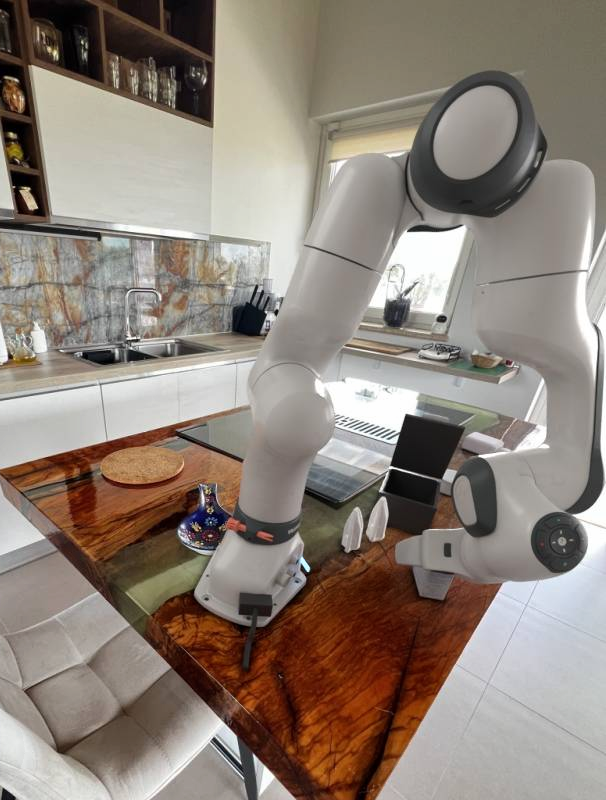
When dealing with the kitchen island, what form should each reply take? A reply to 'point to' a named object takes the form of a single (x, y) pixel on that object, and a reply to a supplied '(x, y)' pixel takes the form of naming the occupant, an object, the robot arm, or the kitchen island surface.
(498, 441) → the white bottle
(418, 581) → the medicine box
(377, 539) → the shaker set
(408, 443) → the black box lid
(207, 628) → the kitchen island surface
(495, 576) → the robot arm
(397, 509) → the black open box
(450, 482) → the ramekin
